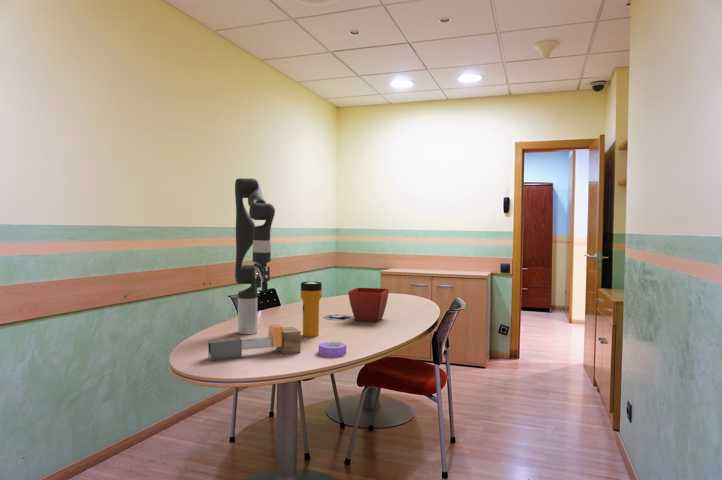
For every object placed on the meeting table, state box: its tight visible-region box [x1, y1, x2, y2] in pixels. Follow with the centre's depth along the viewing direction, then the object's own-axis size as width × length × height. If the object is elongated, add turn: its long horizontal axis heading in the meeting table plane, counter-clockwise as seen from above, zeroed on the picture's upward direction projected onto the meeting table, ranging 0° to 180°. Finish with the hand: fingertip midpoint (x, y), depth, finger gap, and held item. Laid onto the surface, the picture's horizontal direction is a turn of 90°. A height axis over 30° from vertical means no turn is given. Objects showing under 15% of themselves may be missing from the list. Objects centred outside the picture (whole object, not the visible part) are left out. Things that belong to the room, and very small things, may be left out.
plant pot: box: [348, 287, 390, 323], centre depth 282 cm, size 19×19×17 cm
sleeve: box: [207, 336, 243, 362], centre depth 198 cm, size 5×12×7 cm, turn 118°
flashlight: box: [300, 281, 323, 338], centre depth 240 cm, size 10×26×10 cm
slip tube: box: [241, 323, 283, 351], centre depth 205 cm, size 6×23×8 cm, turn 118°
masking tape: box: [318, 340, 348, 358], centre depth 208 cm, size 12×12×4 cm
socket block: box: [276, 326, 302, 355], centre depth 210 cm, size 10×7×9 cm
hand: (261, 289), depth 210 cm, fingers open, 8 cm apart
